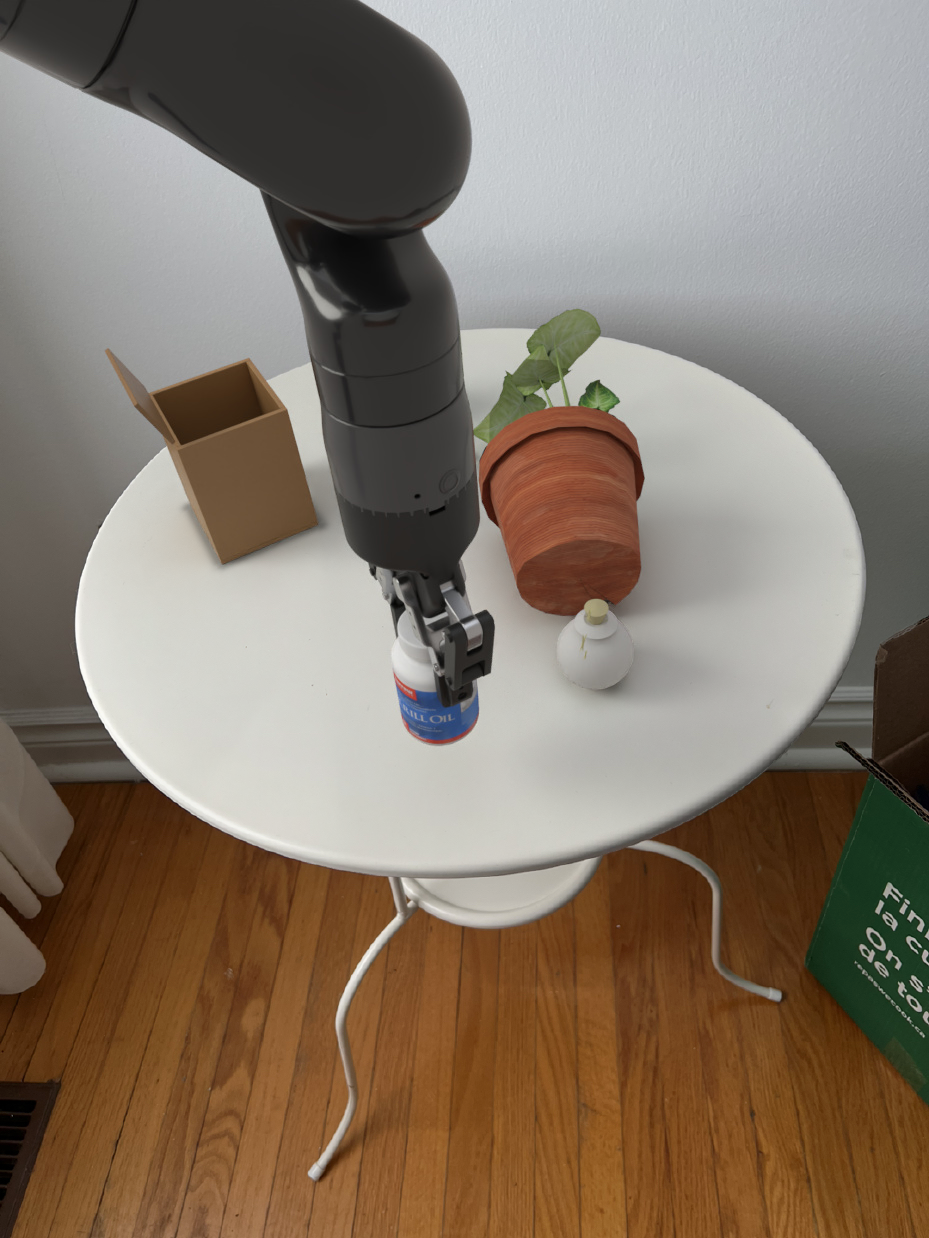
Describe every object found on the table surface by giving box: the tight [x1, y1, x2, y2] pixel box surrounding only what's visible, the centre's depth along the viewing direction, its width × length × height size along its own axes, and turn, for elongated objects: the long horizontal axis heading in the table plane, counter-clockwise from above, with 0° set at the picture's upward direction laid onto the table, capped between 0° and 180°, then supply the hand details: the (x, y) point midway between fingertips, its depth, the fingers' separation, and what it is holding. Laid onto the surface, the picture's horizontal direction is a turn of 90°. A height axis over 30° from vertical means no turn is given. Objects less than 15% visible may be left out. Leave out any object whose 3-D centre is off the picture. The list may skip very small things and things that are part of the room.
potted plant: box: [473, 308, 646, 617], centre depth 84 cm, size 16×15×35 cm
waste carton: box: [148, 357, 319, 565], centre depth 86 cm, size 10×10×14 cm
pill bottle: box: [390, 610, 480, 747], centre depth 60 cm, size 6×5×10 cm
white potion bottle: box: [555, 599, 635, 690], centre depth 70 cm, size 6×7×10 cm
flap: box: [104, 347, 175, 445], centre depth 78 cm, size 5×10×1 cm
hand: (434, 666), depth 60 cm, fingers closed on pill bottle, 5 cm apart
